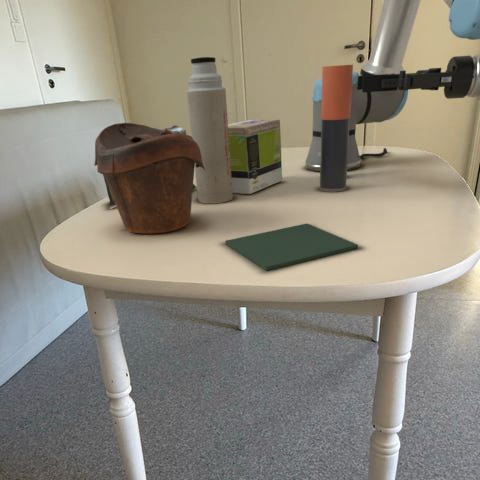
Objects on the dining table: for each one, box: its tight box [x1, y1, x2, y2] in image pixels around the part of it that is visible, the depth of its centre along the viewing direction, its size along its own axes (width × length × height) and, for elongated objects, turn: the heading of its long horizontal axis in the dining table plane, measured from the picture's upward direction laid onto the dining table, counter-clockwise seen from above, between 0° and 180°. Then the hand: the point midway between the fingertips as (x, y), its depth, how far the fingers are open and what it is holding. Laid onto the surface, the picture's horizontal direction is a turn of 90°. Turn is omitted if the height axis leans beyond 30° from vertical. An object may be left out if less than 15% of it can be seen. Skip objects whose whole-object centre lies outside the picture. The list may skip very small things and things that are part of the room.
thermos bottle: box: [186, 56, 234, 204], centre depth 95 cm, size 8×8×28 cm
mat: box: [225, 223, 359, 272], centre depth 71 cm, size 16×14×1 cm
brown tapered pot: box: [93, 122, 206, 235], centre depth 82 cm, size 18×20×18 cm
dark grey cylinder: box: [318, 118, 350, 193], centre depth 100 cm, size 6×6×15 cm
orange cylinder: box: [321, 64, 354, 120], centre depth 94 cm, size 6×6×10 cm
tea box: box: [228, 119, 283, 195], centre depth 107 cm, size 15×10×15 cm, turn 145°
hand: (359, 83), depth 93 cm, fingers open, 13 cm apart
